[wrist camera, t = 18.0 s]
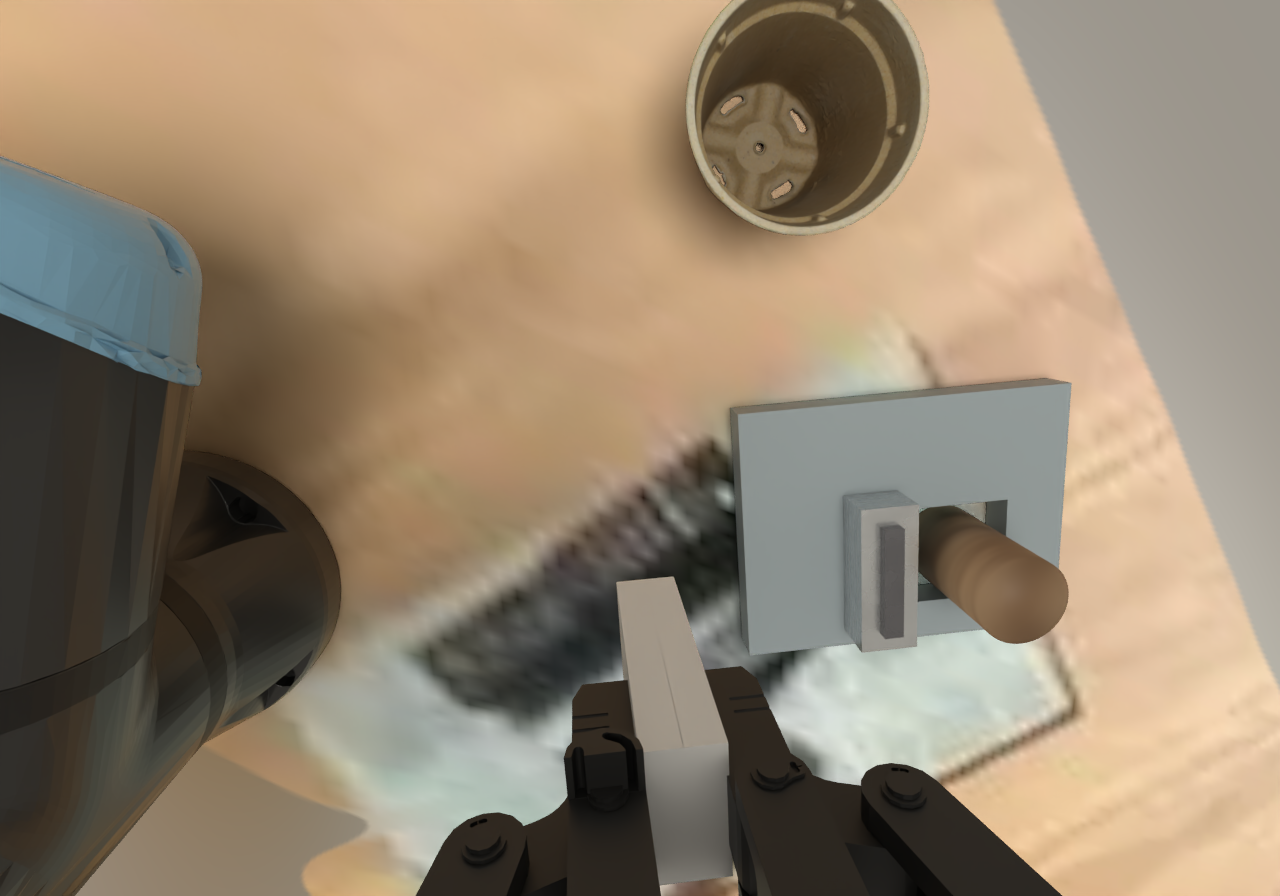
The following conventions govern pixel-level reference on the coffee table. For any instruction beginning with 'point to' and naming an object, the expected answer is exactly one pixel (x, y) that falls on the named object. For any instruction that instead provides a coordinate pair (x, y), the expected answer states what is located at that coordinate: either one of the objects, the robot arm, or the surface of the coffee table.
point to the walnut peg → (990, 575)
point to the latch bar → (881, 570)
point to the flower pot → (807, 109)
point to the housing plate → (877, 462)
